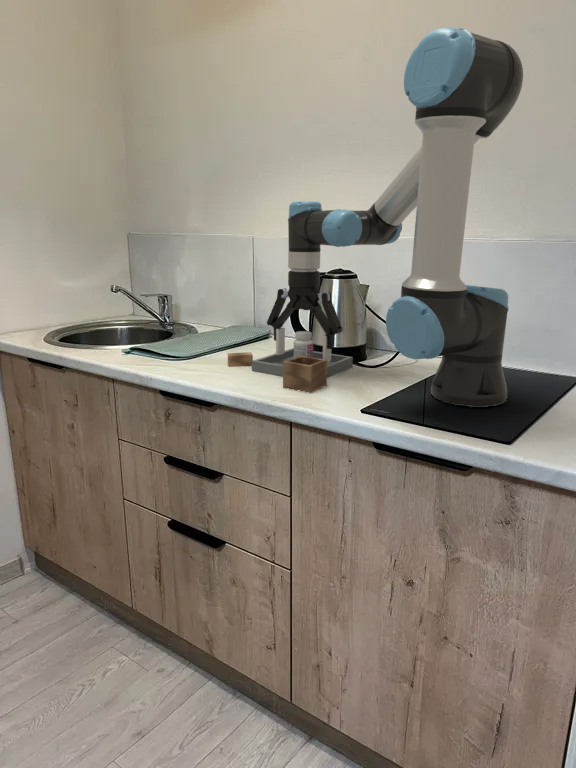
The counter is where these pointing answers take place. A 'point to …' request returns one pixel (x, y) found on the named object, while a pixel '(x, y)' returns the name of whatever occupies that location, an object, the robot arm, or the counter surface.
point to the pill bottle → (303, 344)
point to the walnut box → (305, 373)
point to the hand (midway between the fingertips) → (303, 357)
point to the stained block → (240, 359)
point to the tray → (275, 362)
